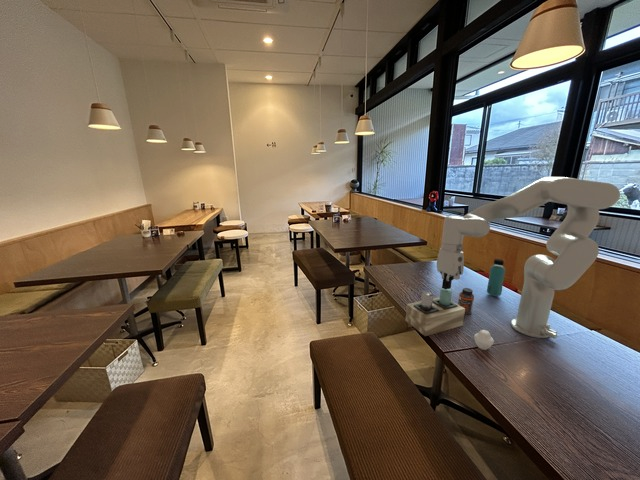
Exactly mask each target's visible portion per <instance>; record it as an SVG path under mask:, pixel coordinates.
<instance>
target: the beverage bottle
mask: <svg viewBox="0 0 640 480" xmlns="http://www.w3.org/2000/svg"><path fill="white" fill-rule="evenodd" d="M504 262H505V261H504V260H503V259H501V258H495V259H494V261H493V265H491V266H490V271H489V274H488V282H487V283H488V284H487V286H486V287H487V288H486V292H487V294H488V295H490V296H494V297H500V296H501V295H502V292H503V285H504V278H505V274H506V268H505V267H504V266H503V265H504Z"/></svg>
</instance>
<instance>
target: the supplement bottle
mask: <svg viewBox="0 0 640 480" xmlns="http://www.w3.org/2000/svg"><path fill="white" fill-rule="evenodd" d="M474 300H475V294H473V289H472V288H469V287H463V288H462V290H461V292H459V296H458V301H457V304H458V305H460V306H461V307H463V308H465V314H464V315H471V314H472V312H473V308H474V307H473V306H474Z"/></svg>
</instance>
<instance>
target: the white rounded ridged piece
mask: <svg viewBox="0 0 640 480" xmlns="http://www.w3.org/2000/svg"><path fill="white" fill-rule="evenodd" d="M473 338H474V342H475V344H476V346H477V348H478V349H480V350H483V351H487V350H488V349H490V347H492V346H493V344H494V343H495V342H494V341H495V340H494V338H493V337H492V336H491V333H490V332H489V331H488V330H487V329H480V330H479V331H478V332H476V333H475V334H474V336H473Z"/></svg>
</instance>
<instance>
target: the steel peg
mask: <svg viewBox="0 0 640 480" xmlns="http://www.w3.org/2000/svg"><path fill="white" fill-rule="evenodd" d="M433 298H434V294H433V293H431V292H430V291H423V292H421V298H420V299H421V300H420V301H421V307H420V308H421V309H423V310H424V311H430V310H432V303H433Z"/></svg>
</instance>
